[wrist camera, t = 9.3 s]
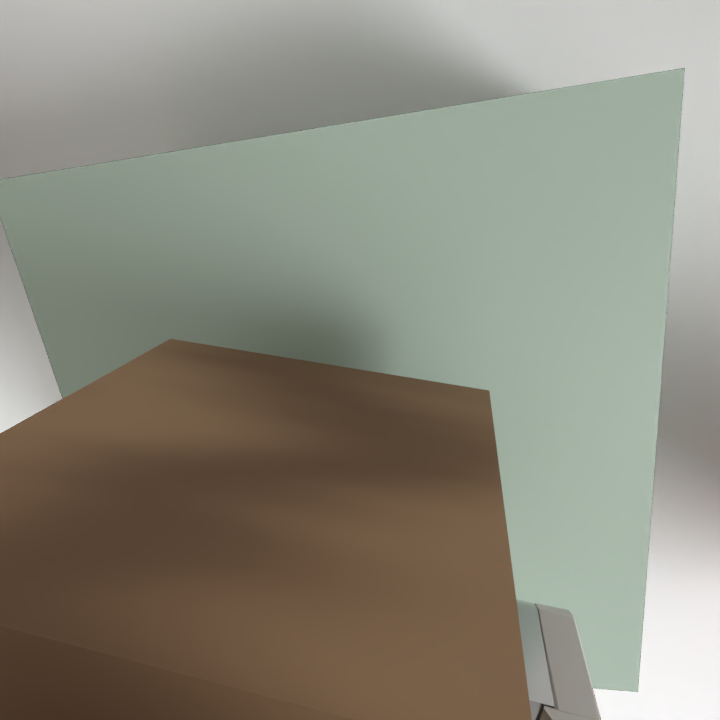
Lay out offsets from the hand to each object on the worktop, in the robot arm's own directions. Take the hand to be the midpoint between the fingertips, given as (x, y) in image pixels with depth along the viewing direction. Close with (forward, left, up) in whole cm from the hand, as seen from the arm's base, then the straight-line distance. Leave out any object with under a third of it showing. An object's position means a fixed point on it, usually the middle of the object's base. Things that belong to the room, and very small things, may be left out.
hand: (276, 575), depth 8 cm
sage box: (0, 0, -12) cm, 12 cm away
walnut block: (0, 0, -2) cm, 2 cm away
